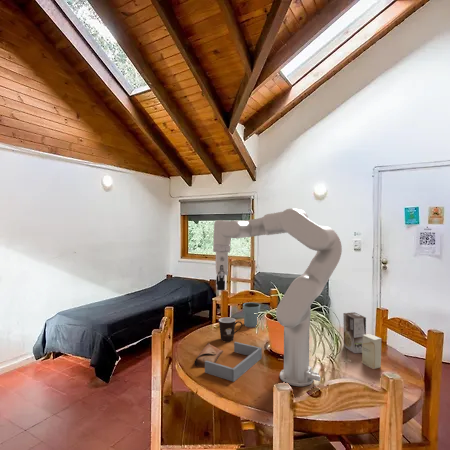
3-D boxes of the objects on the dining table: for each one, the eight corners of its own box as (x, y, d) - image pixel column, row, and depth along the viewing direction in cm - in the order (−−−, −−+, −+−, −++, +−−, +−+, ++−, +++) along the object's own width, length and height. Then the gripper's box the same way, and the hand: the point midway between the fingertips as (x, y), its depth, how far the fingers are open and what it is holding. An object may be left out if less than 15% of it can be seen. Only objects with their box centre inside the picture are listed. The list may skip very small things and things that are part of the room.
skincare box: (361, 363, 131) (361, 334, 131) (369, 361, 133) (369, 333, 133) (374, 369, 125) (374, 339, 125) (381, 367, 127) (381, 338, 127)
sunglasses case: (214, 367, 127) (206, 353, 127) (200, 375, 128) (192, 360, 129) (223, 350, 144) (216, 337, 145) (211, 357, 146) (204, 344, 146)
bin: (261, 358, 136) (261, 347, 136) (233, 381, 116) (233, 369, 116) (235, 351, 143) (235, 341, 143) (204, 372, 123) (204, 361, 123)
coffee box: (366, 352, 141) (366, 317, 141) (353, 353, 140) (353, 318, 140) (355, 344, 150) (355, 311, 150) (343, 345, 149) (343, 312, 149)
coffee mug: (217, 341, 155) (216, 322, 155) (220, 335, 163) (220, 316, 163) (239, 343, 152) (239, 323, 152) (242, 337, 161) (242, 318, 160)
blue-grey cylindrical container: (253, 321, 187) (253, 301, 187) (264, 326, 179) (264, 305, 178) (239, 324, 182) (239, 303, 182) (249, 329, 173) (249, 307, 173)
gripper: (232, 251, 126) (230, 292, 127) (228, 246, 144) (227, 283, 144) (213, 250, 126) (212, 292, 126) (212, 246, 143) (211, 282, 144)
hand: (220, 287), depth 135 cm, fingers open, 9 cm apart
